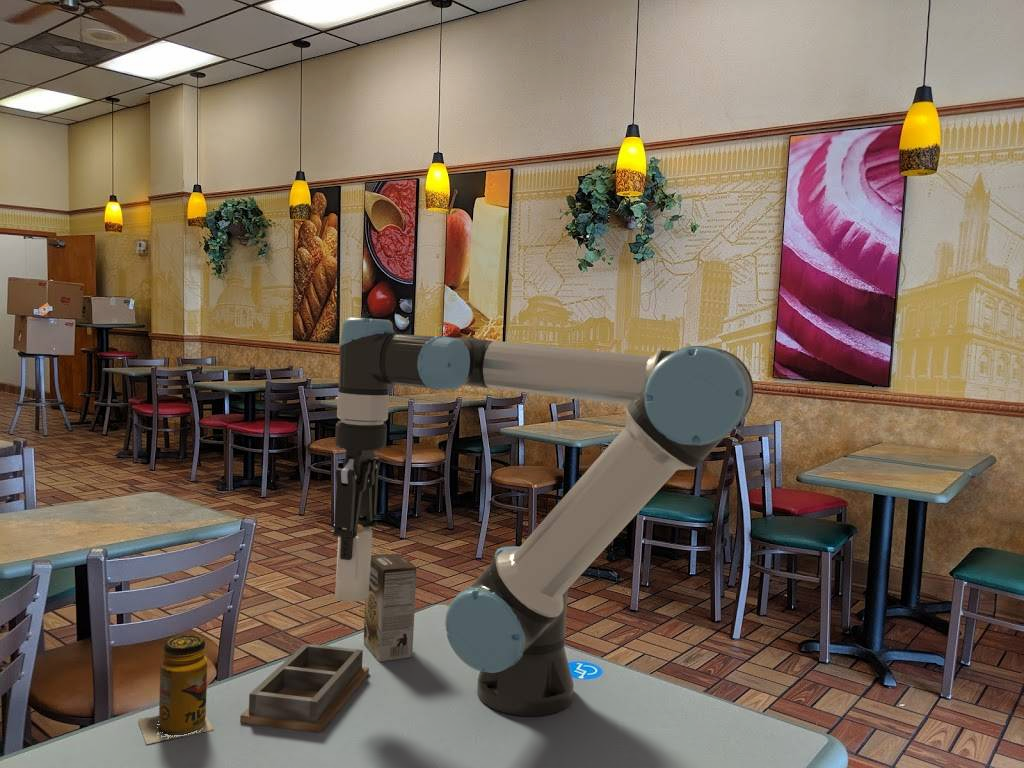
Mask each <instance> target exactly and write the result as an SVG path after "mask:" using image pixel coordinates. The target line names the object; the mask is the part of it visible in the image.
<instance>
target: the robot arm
mask: <svg viewBox="0 0 1024 768" xmlns="http://www.w3.org/2000/svg"><path fill="white" fill-rule="evenodd" d="M392 322H393V321H391V320H389V319H380V318H378V319H377V318H364V317H348V318H346V319H345V320H344V321H343V323H342V328H341V337H340V344H339V346H338V347H339V348H338V349H339V373H338V374H339V377H338V391H337V397H334V402H335V403H336V404H337V407H336V408H337V409H336V417H337V419H339V420H338V421H337V423H336V424H335V437H334V438H335V439H334V444H335V446H336V447H338V448H340V449H344V451H345V457H344V459H343V461H342V467H338V468H336V471H335V478H336V479H335V480H336V491H335V493H336V494H335V496H336V497H335V508H334V509H335V510H334V526H333V532H332V536H333V537H340V538H339V556H338V574H337V579H338V580H347V581H356V580H357V562H358V545H359V537H357V528H358V524H359V525H362V526H363V528H368V529H371V530H372V528H371V527H373V528H376V527H377V525H378V521H377V520H376V518H377V503H378V487H379V486H378V485H379V484H378V483H379V472H380V465H381V458H380V457H378V456H375V451H379V450H383V449H384V448H385V447H387V433H388V431H387V430H388V426H387V424H386V423H384V422H385V421H387V420H388V419H389V405H390V404H389V401H390V385H394V386H397V385H398V386H406V387H414V388H423V389H424V388H425V389H431V390H434V391H439V390H440V391H445V390H447V391H455V390H458V389H460V388H461V387H462V386H465V387H473V388H474V387H477V388H485V389H486V388H487V389H495V390H496V389H497V390H504V391H511V392H519V393H526V394H535V395H543V396H550V397H551V396H552V397H558V398H559V397H560V398H568V399H576V400H582V401H590V402H598V403H605V404H606V403H607V404H615V405H621V406H622V405H623V406H626V408H625V419H626V425H625V427H624V428H623V429H622V430H621V431H620V433H619V434H618V435H617V436H616V437H615V438H614V439H613V440H612V442H611V443H610V444H609V445H608V446H607V447H606V448H605V450H603V452H602V453H601V454H600V455H599V456H598V457H597V458H596V460H595V461H593V463H592V464H591V465H590V466H589V468H588V469H587V470H586V471H585V472H584V474H582V476H581V477H580V478H579V479H578V480H577V481H576V482H575V484H574V485H573V486H572V487H571V488H570V489H569V490H568V492H567V493H566V494H565V495H564V496H563V497H562V499H560V501H559V502H558V503H557V504H555V506H554V508H553V509H551V511H550V512H549V513H548V515H546V516H545V518H544V519H543V520H542V521H541V523H539V525H538V526H537V527H535V529H534V530H533V531H532V533H531V534H530V535H529V536H527V539H525V540H524V542H523V543H522V544H521V545H520V546H517V545H515V546H502V547H500V548H497V549H496V550H495V554H494V558H493V560H492V561H491V563H489V565H488V566H487V567H486V568H485V570H483V572H482V573H481V574H480V575H479V576H478V577H477V578H476V579H475V581H474V582H473V583H472V584H471V585H470V586H468V587H467V588H465V589H463V590H461V591H459V593H457V594H456V596H455V597H454V599H453V600H452V601H451V603H450V604H449V606H448V608H447V611H446V615H445V620H444V623H445V624H444V625H445V628H446V629H445V631H446V637H447V639H448V642H449V645H450V646H451V647H450V648H451V649H452V650H453V652H454V653H455V654H456V656H457V657H458V658H459V660H461V661H462V662H463V663H464V664H465V665H467V666H468V667H470V668H471V669H474V670H475V671H479V673H478V676H477V677H478V678H477V689H476V690H477V691H476V693H477V694H476V695H477V696H478V699H479V700H480V701H481V702H482V703H483V704H485V705H486V706H488V707H490V708H491V709H493V710H495V711H499V712H502V713H505V714H509V715H515V716H522V717H523V716H524V717H525V716H526V717H539V716H546V715H551V714H556V713H558V712H561V711H562V710H566V708H568V707H569V706H570V705H571V704H572V702H573V699H574V681H573V676H572V673H571V667H570V665H569V661H568V658H567V654H566V651H565V650H566V649H565V645H566V644H565V640H566V625H567V624H566V623H567V609H568V607H567V606H568V590H569V589H570V588H571V586H572V585H573V584H574V583H575V582H576V581H577V580H578V579H579V577H580V576H581V575H582V574H583V573H584V572H585V571H586V570H587V568H589V567H590V565H591V564H593V562H594V561H595V560H596V559H597V558H599V555H601V554H602V553H603V552H604V550H605V549H606V548H607V547H608V546H609V545H610V544H611V543H612V541H613V540H614V539H615V538H616V537H618V535H619V534H620V533H621V532H622V531H623V530H624V528H626V526H628V524H629V523H630V522H631V521H632V520H633V519H634V518H635V516H636V515H638V514H639V512H640V511H641V510H642V509H643V508H644V507H645V506H646V505H647V504H648V502H650V501H651V499H652V498H653V497H654V496H655V495H656V494H657V492H658V491H660V489H661V488H662V487H663V486H664V485H665V484H666V483H667V482H668V481H669V480H670V478H672V476H673V475H675V473H676V472H677V471H683V470H695V469H696V468H697V467H698V466H699V465H700V464H701V463H702V462H703V461H704V460H705V459H706V458H707V456H708V455H710V453H712V451H713V450H714V449H715V448H716V447H717V446H718V445H719V443H721V441H723V440H724V439H725V437H726V436H728V435H729V434H730V433H732V432H733V430H734V429H736V427H737V426H738V425H739V424H740V422H741V421H742V420H743V419H744V418H745V417H746V416H747V414H748V413H749V411H750V409H751V406H752V403H753V399H754V392H755V389H754V388H755V387H754V381H753V378H752V374H751V372H750V371H749V369H748V367H747V365H746V364H745V363H744V362H743V361H742V360H741V359H740V358H739V357H738V356H736V355H735V354H733V353H731V352H730V351H727V350H724V349H722V348H716V347H712V346H709V345H692V346H691V345H690V346H687V347H682V348H679V349H677V350H675V351H673V350H664V349H663V350H662V349H660V350H658V351H657V352H656V353H655V354H654V355H644V354H635V353H634V354H633V353H623V352H612V351H605V350H604V351H601V350H594V349H591V350H590V349H582V348H572V347H562V346H553V345H551V346H550V345H542V344H541V345H539V344H531V343H519V342H511V341H501V340H489V339H479V338H476V337H468V336H467V337H466V336H465V337H453V336H443V335H438V336H437V335H435V336H433V335H422V334H421V335H419V334H417V335H416V334H400V333H396V332H395V331H394V324H393V323H392Z"/></svg>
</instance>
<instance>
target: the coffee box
mask: <svg viewBox="0 0 1024 768" xmlns="http://www.w3.org/2000/svg"><path fill="white" fill-rule="evenodd" d="M417 568H418V567H417V566H416V565H415V564H413V562H411V561H409V560H408V558H406V557H404V556H403V555H402V554H401V553H399V552H398V553H390V554H389V553H380V554H371V564H370V581H369V597H368V598H367V599H365V600H364V621H363V623H364V624H363V626H364V627H363V644H364V645H365V646H366V648H367V649H368V650H369V651H370V653H371V654H372V655H373V656H374V657H375V658H376V660H377V661H378V663H379V662H382V663H383V662H386V661H387V662H388V661H394V660H401V659H407V658H412V657H413V649H414V648H413V646H414V645H413V644H414V629H415V627H414V626H415V625H414V624H415V613H416V612H415V611H416V609H415V608H416V607H415V606H416V590H417V589H416V587H417V584H416V583H417V570H418V569H417Z"/></svg>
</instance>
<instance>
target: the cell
mask: <svg viewBox="0 0 1024 768" xmlns="http://www.w3.org/2000/svg"><path fill="white" fill-rule="evenodd" d="M357 537H359V545H358V562H357V580H356V581H347V580H338V579H337V574H338V556H339V538H340V537H338V538H337V540H338V541H337V554H336V555H337V556H336V570H335V571H336V573H335V575H336V576H335V591H334V597H335V599H337V600H339V601H342V602H351V603H354V602H361V601H365V599H367V598H368V597H369V581H370V564H371V555H372V547H373V546H372V544H373V529H372V528H371V529H368V528H363V526H362V525H359V524H358V528H357Z"/></svg>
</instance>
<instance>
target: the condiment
mask: <svg viewBox="0 0 1024 768" xmlns="http://www.w3.org/2000/svg"><path fill="white" fill-rule="evenodd" d="M205 647H206V642H205V639H204V638H203V636H199V635H197V634H196V635H193V634H184V635H183V634H182V635H177V636H174V637H171V638H169V639H167V641H166V642H164V645H163V655H162V657H163V659H162V660H161V663H160V667H159V708H158V710H159V711H158V713H159V714H158V715H156V716H150V717H148V716H147V717H142V718H138V719H137V720H138V725H139V727H140V731H141V734H142V736H143V739H144V741H145V744H146V745H150V744H153V743H159V742H161V741H167V740H171V739H177V738H180V737H179V736H178V737H176V736H175V737H174V735H184V734H187V735H185V736H183V737H188V736H193V735H197V734H201V733H206V732H210V731H212V730H214V728H213V726H212V724H211V722H210V721H209V719H208V717H207V715H206V714H207V690H208V689H207V687H208V686H207V681H208V659H207V656H206V655H205V654H206V650H205ZM158 721H159V722H158ZM157 724H160V725H157ZM157 727H158V728H157ZM202 728H203V729H202ZM196 730H197V732H198V733H196V732H195V733H196V734H195V733H194V734H192V733H191V732H194V731H196ZM200 730H201V731H202V732H201V731H200ZM199 731H200V732H199ZM158 732H159V733H160V732H161V733H162V732H163V733H162V735H164V734H168V735H171V736H172V735H173V737H171V736H170V737H171V738H170V737H169V739H167V738H168V737H167V736H166V737H162V738H161V734H159V735H157V733H158ZM188 733H191V734H189V735H188ZM157 736H158V737H157ZM183 737H182V738H183Z"/></svg>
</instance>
